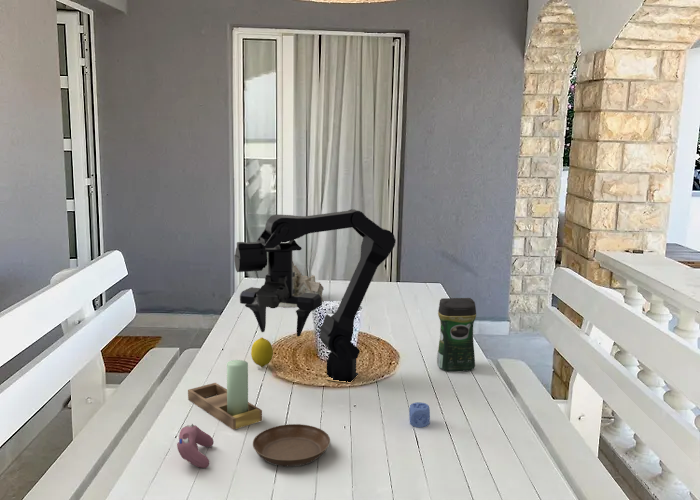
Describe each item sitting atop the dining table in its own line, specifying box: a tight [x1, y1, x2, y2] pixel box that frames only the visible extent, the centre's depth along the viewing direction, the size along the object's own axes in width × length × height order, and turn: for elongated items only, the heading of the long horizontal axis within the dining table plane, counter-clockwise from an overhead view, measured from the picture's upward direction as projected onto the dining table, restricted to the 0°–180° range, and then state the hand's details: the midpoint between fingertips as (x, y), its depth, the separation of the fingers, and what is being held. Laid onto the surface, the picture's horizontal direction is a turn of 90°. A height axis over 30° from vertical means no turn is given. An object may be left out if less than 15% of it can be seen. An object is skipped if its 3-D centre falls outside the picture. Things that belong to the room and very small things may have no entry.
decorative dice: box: [408, 402, 431, 429], centre depth 145 cm, size 4×4×4 cm
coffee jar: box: [436, 297, 477, 373], centre depth 176 cm, size 10×8×19 cm
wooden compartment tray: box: [187, 382, 263, 431], centre depth 151 cm, size 20×7×2 cm, turn 40°
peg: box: [226, 359, 249, 416], centre depth 145 cm, size 4×4×12 cm
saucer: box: [252, 423, 331, 468], centre depth 132 cm, size 15×15×3 cm
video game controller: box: [176, 423, 215, 469], centre depth 129 cm, size 10×5×7 cm, turn 6°
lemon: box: [250, 336, 274, 368], centre depth 177 cm, size 6×6×8 cm
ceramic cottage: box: [277, 262, 324, 309], centre depth 240 cm, size 16×16×15 cm
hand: (280, 334), depth 162 cm, fingers open, 9 cm apart
